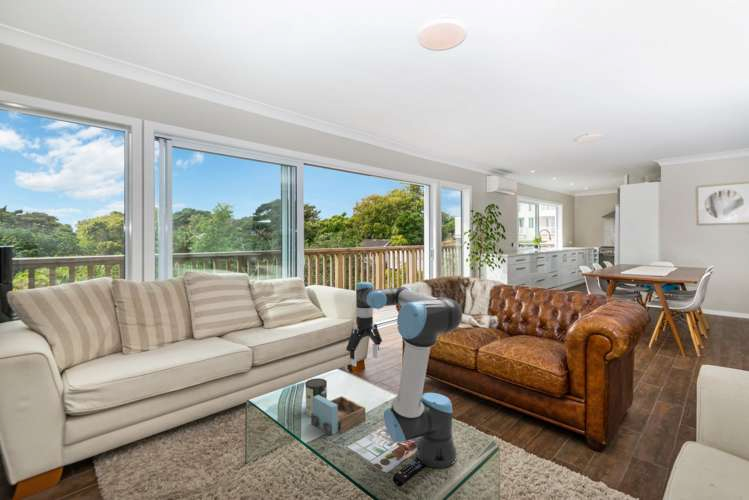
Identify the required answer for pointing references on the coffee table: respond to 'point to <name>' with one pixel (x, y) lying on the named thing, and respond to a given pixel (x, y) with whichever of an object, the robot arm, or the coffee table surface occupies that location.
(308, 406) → the coffee can
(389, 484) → the coffee table surface
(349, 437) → the coffee table surface
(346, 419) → the cabinet
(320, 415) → the door
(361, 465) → the coffee table surface
